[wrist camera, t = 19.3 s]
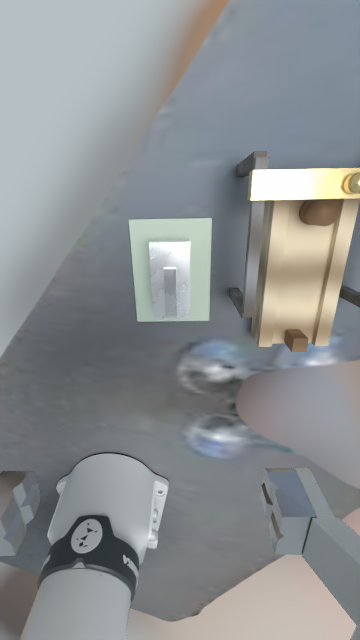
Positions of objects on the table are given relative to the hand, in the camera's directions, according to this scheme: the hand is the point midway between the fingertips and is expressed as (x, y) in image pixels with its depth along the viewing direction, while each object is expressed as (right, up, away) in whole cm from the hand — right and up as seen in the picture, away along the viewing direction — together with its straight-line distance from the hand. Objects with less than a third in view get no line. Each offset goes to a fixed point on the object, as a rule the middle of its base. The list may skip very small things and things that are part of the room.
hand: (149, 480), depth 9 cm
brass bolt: (+14, +16, +11) cm, 24 cm away
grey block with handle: (0, +11, +22) cm, 24 cm away
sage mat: (0, +11, +22) cm, 25 cm away
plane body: (+14, +13, +21) cm, 29 cm away
